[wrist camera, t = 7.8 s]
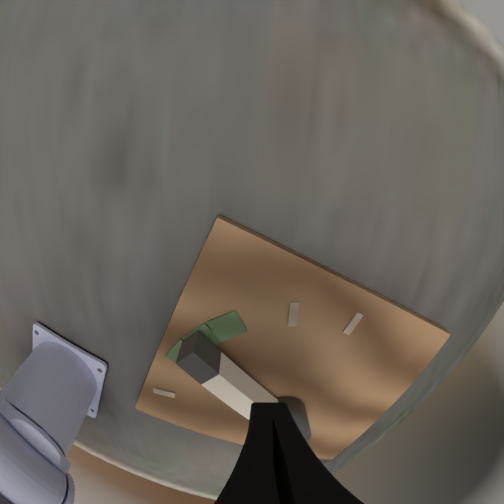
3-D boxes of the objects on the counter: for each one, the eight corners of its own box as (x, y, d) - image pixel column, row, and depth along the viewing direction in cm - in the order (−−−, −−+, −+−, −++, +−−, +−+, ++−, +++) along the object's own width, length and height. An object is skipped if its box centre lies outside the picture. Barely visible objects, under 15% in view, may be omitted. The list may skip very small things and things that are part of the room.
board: (329, 453, 27) (331, 460, 25) (137, 400, 23) (134, 409, 22) (445, 329, 21) (451, 335, 20) (218, 214, 18) (217, 218, 17)
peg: (314, 411, 22) (320, 437, 19) (276, 430, 23) (279, 455, 20) (211, 319, 19) (207, 346, 16) (171, 348, 19) (162, 375, 17)
